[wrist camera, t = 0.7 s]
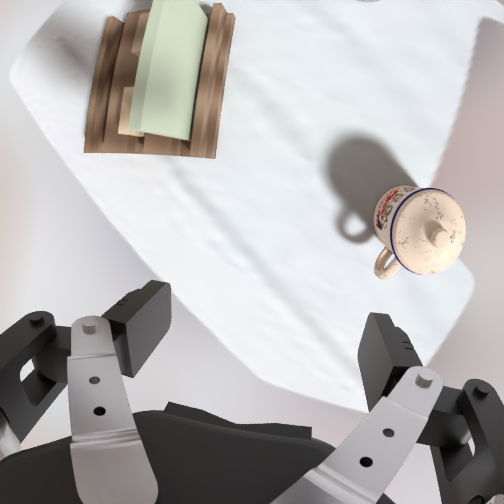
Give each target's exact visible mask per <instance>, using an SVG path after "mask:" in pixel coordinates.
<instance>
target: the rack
mask: <svg viewBox="0 0 504 504" xmlns="http://www.w3.org/2000/svg"><path fill="white" fill-rule="evenodd" d="M150 11H151V9H150V10H143V11H138V12H132V13H128V15H127V19H126V23H123V22H121V21H120V20H118V19H117V18H116V17H114V16H112V17H108V19H107V23H106V26H105V30H104V34H103V38H102V42H101V46H100V50H99V54H98V59H97V64H96V68H95V73H94V79H93V84H92V90H91V96H90V102H89V109H88V116H87V124H86V133H85V143H84V153H131V154H155V155H173V156H187V157H200V158H212V159H215V156H216V148H217V139H218V131H219V123H220V116H221V108H222V101H223V94H224V86H225V80H226V73H227V66H228V60H229V53H230V47H231V41H232V35H233V29H234V23H235V16H234V14H233V13H227V12H226V10H225V8H224V6H223V5H222V3H214V4H213V9H212V14H205V15H206V16H207V18H208V19H209V21H210V24H209V29H208V34H207V40H206V45H205V51H204V57H203V63H202V69H201V75H200V81H199V88H198V95H197V102H196V109H195V116H194V124H193V132H192V140H191V141H187V140H182V139H177V138H172V137H167V136H162V135H157V134H151V133H146V132H145V137H139V136H132V135H125V134H118V129H119V121H120V113H121V106H122V99H123V93H124V87H134V85H135V79H136V73H137V68H138V63H139V58H140V57H138V56H136V55H135V54H133V53H131V50H132V46H133V41H134V37H135V33H136V29H137V25H138V21H139V17H140V14H142V13H149V12H150Z"/></svg>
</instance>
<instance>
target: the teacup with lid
mask: <svg viewBox="0 0 504 504" xmlns="http://www.w3.org/2000/svg"><path fill="white" fill-rule="evenodd" d="M374 228H375V231H376V234H377V236H378V238H379V239H380V241H381V242H382V243H383V244H384V245H385V248H384V249H383V250H382V252H381V253H380V254H379V256H378V258H377V260H376V262H375V266H374V273H375V275H376V276H377V277H378V278H379V279H382V280H385V279H388V278H390V277H391V276H392V275H394V274H395V273H396V272H397V271H398V269H399V268H400V267H401V266H403V267H404V268H406V269H407V270H409V271H411V272H413V273H416V274H420V275H431V274H435V273H438V272H441V271H443V270H444V269H446V268H447V267H449V266H450V265H451V264H452V263H453V262H454V261H455V260H456V258H457V257H458V255H459V253H460V252H461V250H462V247H463V244H464V240H465V233H466V227H465V219H464V215H463V213H462V210H461V208H460V206H459V205H458V203H457V202H456V201H455V200H454V198H453V197H451V196H450V195H449V194H448V193H446V192H444V191H442V190H439V189H436V188H419V187H414V186H408V185H401V186H397V187H394V188H392V189H390V190H388V191H387V192H386V193H385V194H384V195H383V196H382V197H381V198H380V200H379V201H378V203H377V205H376V208H375V212H374ZM392 254H394V255H395V257H394V259H393V260H392V261H391V262H390V263H389V264H388V265H387V266H386V267H385V268H384V266H385V263H386V262H387V260H388V259H389V257H390V256H391V255H392Z"/></svg>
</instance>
